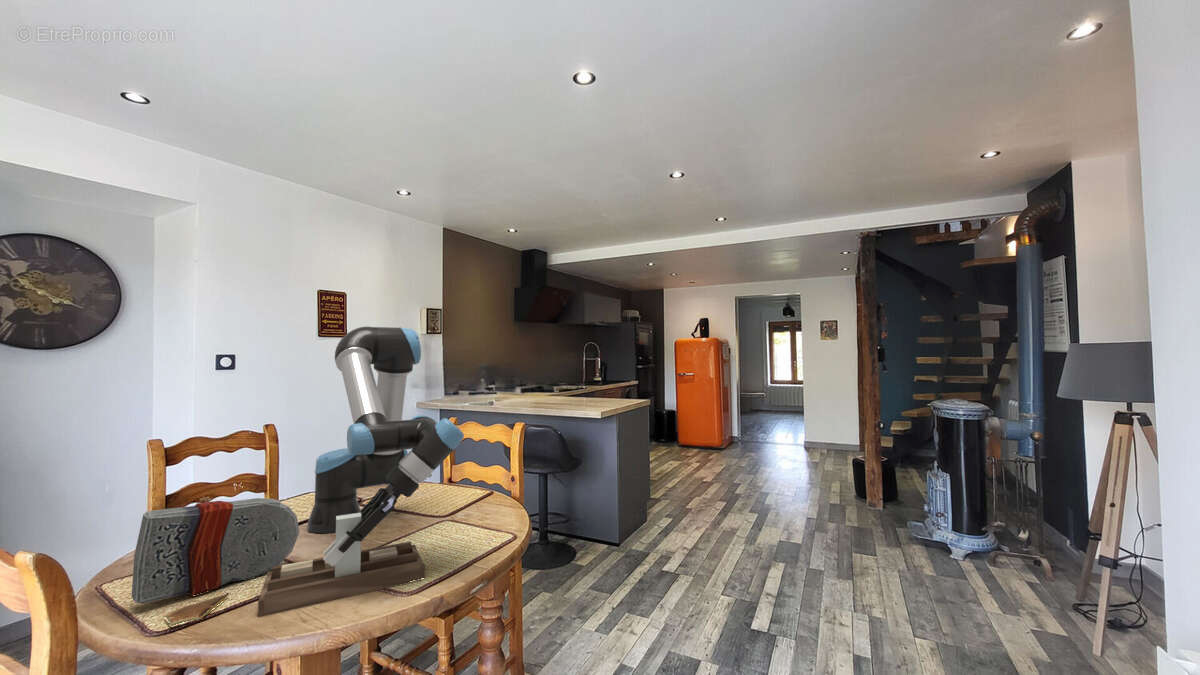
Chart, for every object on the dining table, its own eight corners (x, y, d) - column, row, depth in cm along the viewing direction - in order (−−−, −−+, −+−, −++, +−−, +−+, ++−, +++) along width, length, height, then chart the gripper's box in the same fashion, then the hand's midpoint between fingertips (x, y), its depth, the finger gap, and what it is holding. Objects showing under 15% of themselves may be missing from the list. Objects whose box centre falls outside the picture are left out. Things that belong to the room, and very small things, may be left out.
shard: (229, 599, 103) (229, 591, 103) (240, 610, 99) (241, 601, 99) (162, 621, 95) (163, 612, 95) (172, 634, 90) (172, 624, 90)
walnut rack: (267, 585, 109) (267, 567, 109) (414, 556, 124) (414, 540, 125) (257, 616, 95) (258, 596, 95) (424, 579, 111) (424, 562, 111)
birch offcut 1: (281, 587, 108) (282, 565, 108) (312, 581, 111) (312, 559, 111) (279, 595, 104) (280, 572, 104) (311, 588, 107) (312, 566, 107)
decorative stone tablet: (147, 514, 97) (305, 494, 121) (140, 508, 101) (295, 490, 125) (131, 613, 95) (296, 574, 119) (125, 604, 99) (286, 567, 122)
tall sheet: (334, 583, 106) (336, 516, 107) (359, 578, 109) (360, 512, 110) (334, 589, 104) (336, 519, 105) (360, 583, 106) (361, 516, 107)
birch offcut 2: (369, 570, 116) (369, 551, 117) (395, 564, 119) (395, 546, 120) (370, 576, 113) (370, 557, 113) (397, 570, 116) (397, 552, 116)
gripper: (426, 492, 108) (342, 583, 99) (415, 477, 122) (340, 556, 113) (401, 471, 106) (313, 563, 97) (393, 458, 120) (315, 538, 110)
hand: (328, 559), depth 105 cm, fingers closed on tall sheet, 3 cm apart
